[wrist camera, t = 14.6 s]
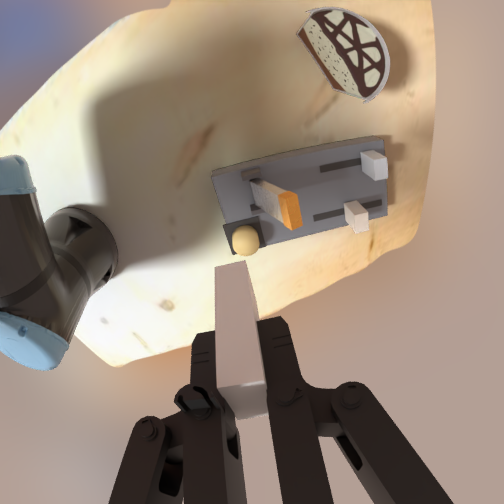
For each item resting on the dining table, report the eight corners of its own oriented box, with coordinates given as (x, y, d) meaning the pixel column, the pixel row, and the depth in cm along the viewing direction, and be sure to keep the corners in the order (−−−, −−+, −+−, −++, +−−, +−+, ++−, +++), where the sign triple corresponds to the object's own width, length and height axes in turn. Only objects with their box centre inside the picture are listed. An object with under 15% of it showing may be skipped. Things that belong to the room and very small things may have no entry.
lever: (252, 205, 38) (292, 231, 30) (245, 178, 36) (285, 198, 28) (261, 201, 38) (303, 226, 30) (255, 174, 36) (297, 193, 28)
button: (236, 250, 42) (236, 258, 40) (229, 228, 40) (229, 236, 38) (260, 244, 42) (262, 252, 40) (254, 222, 40) (256, 229, 38)
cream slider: (345, 220, 41) (355, 233, 37) (343, 203, 39) (354, 215, 36) (357, 217, 40) (368, 230, 37) (356, 200, 39) (368, 212, 36)
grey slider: (362, 171, 37) (375, 180, 33) (360, 152, 35) (373, 159, 32) (374, 168, 36) (388, 178, 33) (373, 149, 35) (387, 157, 32)
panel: (232, 243, 45) (233, 262, 41) (208, 171, 39) (206, 184, 34) (379, 207, 44) (394, 221, 39) (373, 135, 37) (391, 143, 33)
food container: (372, 80, 33) (411, 83, 24) (338, 99, 34) (371, 105, 26) (326, 8, 27) (356, -11, 18) (289, 25, 28) (310, 7, 20)
